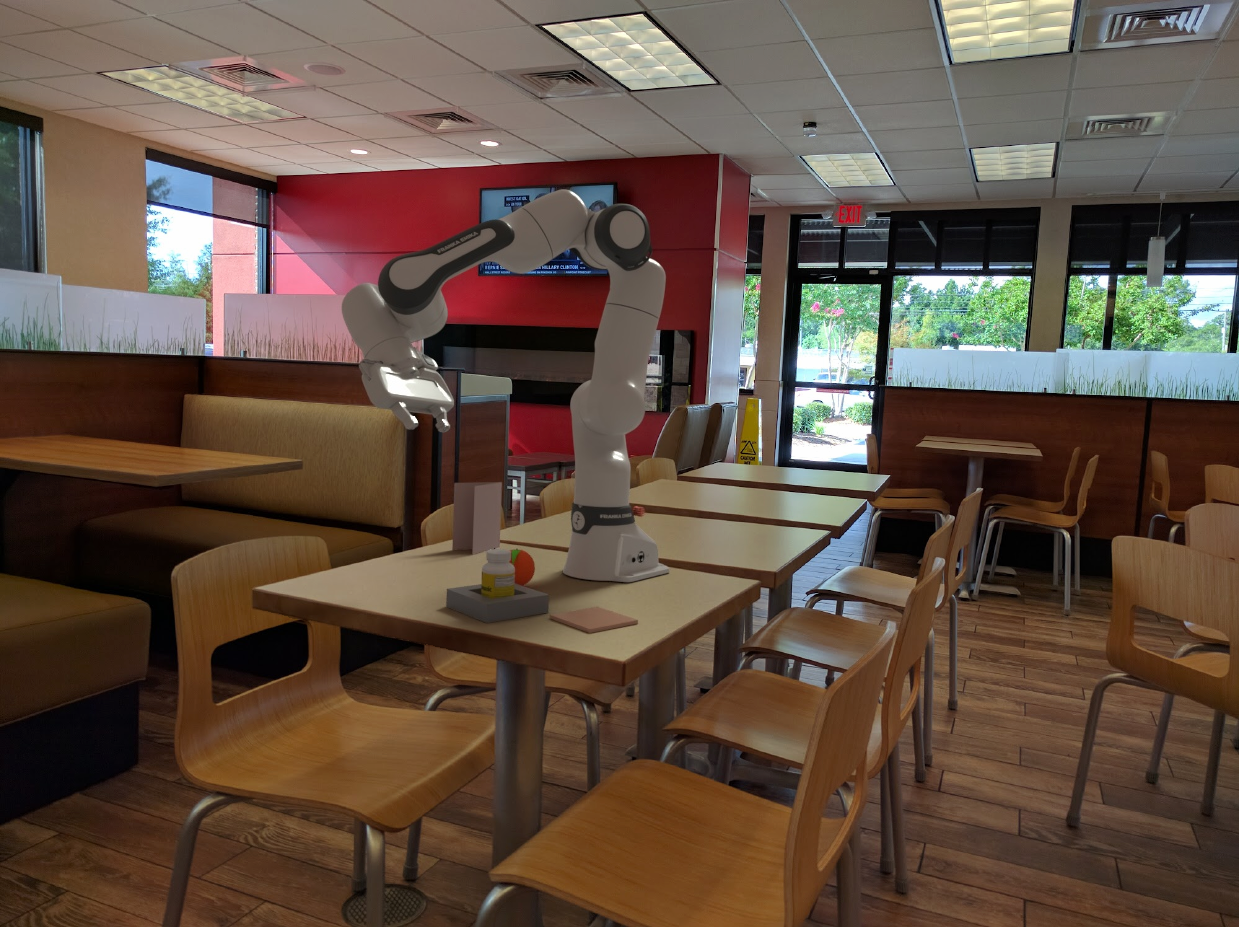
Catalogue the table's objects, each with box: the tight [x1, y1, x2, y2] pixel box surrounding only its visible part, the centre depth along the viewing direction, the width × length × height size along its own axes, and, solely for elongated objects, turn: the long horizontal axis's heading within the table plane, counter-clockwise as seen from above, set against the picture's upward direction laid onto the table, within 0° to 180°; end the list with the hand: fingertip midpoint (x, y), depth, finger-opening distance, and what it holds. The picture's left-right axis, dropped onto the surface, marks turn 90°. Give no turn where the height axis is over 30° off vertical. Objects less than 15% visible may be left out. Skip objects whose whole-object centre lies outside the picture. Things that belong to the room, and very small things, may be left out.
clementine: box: [508, 549, 536, 586], centre depth 160 cm, size 8×7×7 cm
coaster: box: [549, 606, 639, 634], centre depth 139 cm, size 10×10×1 cm
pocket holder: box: [445, 583, 550, 624], centre depth 143 cm, size 12×12×3 cm
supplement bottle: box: [481, 548, 515, 599], centre depth 143 cm, size 5×5×10 cm
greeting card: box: [451, 481, 503, 556], centre depth 194 cm, size 11×7×15 cm, turn 122°
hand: (429, 429), depth 153 cm, fingers open, 8 cm apart
